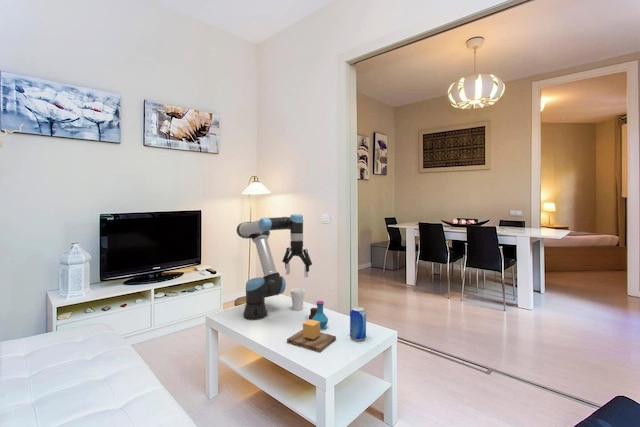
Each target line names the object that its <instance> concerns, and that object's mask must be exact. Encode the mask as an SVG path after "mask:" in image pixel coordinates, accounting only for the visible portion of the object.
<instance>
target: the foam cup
mask: <svg viewBox="0 0 640 427" xmlns="http://www.w3.org/2000/svg"><path fill="white" fill-rule="evenodd" d="M305 291H306V290H305V289H304V288H301V287H300V288H291V289H290V296H291V305H292V309H293V311H295V312H300V311H303V308H304V299H305Z"/></svg>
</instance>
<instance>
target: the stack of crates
mask: <svg viewBox="0 0 640 427" xmlns="http://www.w3.org/2000/svg"><path fill="white" fill-rule="evenodd" d="M316 313H317V307H311V308H310V314H309V315H308V320H310V319H311V320H312V318H313V317H314V316H315V314H316Z"/></svg>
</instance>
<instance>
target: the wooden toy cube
mask: <svg viewBox="0 0 640 427" xmlns="http://www.w3.org/2000/svg"><path fill="white" fill-rule="evenodd" d="M302 330H303V337H306V338H310V339H313V340H314V339H315V338H316V337H318V336H319V335H320V332H321V330H320V322H319V321H315V320H311V319H310V320H309V319H308V320H306V321H304V322H303V323H302Z"/></svg>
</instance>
